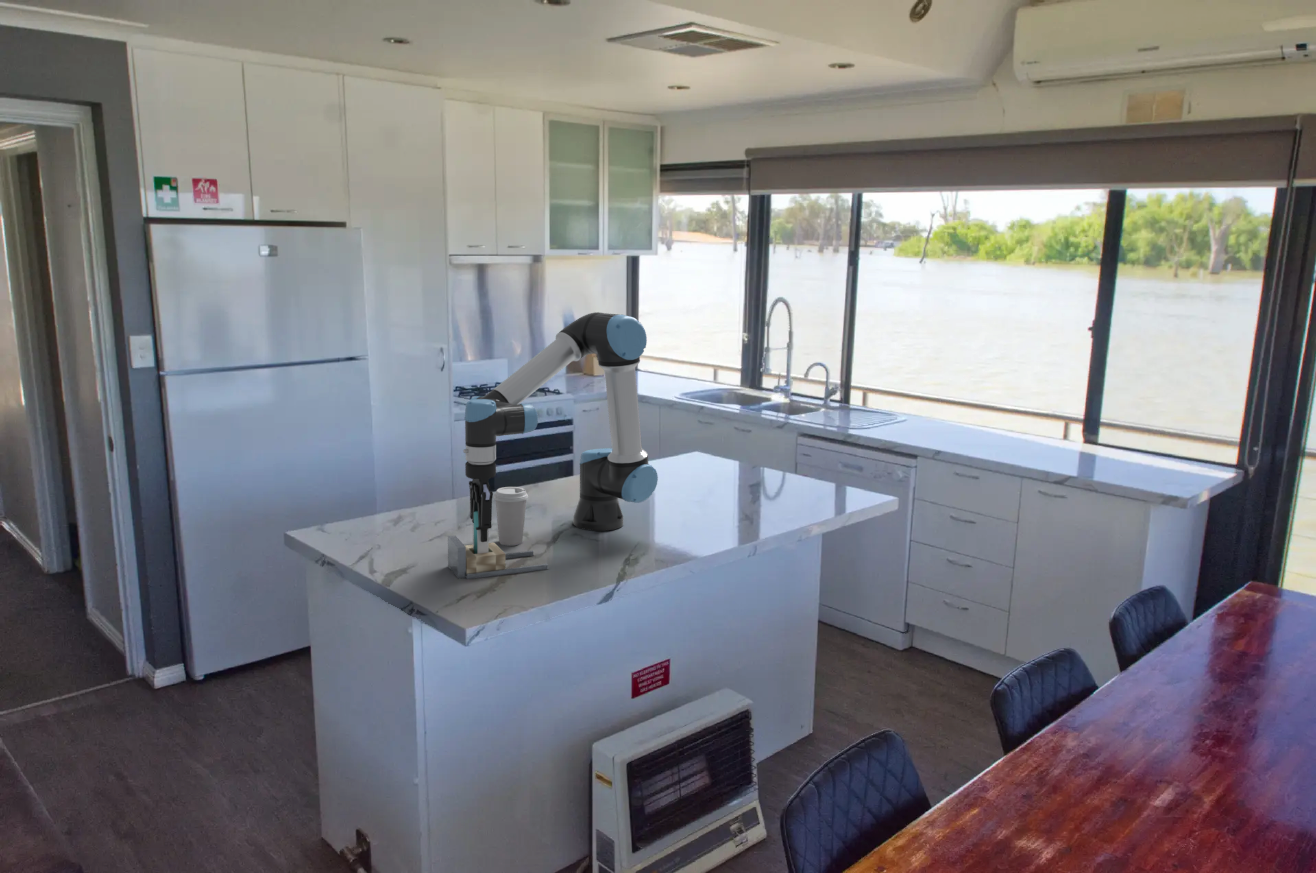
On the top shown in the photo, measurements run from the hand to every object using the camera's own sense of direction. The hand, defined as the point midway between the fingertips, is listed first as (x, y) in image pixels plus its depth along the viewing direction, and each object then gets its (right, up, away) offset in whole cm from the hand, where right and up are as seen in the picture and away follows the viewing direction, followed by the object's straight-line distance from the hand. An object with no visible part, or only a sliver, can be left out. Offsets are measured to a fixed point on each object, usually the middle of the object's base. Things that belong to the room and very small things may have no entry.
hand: (480, 550), depth 237 cm
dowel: (0, -2, 0) cm, 2 cm away
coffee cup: (+4, -1, +24) cm, 24 cm away
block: (0, -5, +1) cm, 5 cm away
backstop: (+4, -5, +3) cm, 7 cm away
